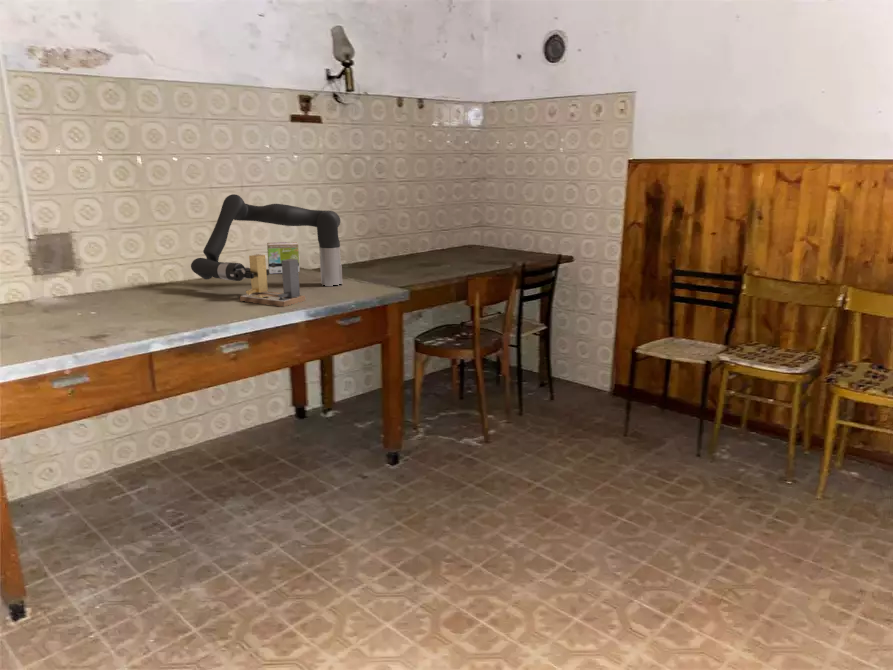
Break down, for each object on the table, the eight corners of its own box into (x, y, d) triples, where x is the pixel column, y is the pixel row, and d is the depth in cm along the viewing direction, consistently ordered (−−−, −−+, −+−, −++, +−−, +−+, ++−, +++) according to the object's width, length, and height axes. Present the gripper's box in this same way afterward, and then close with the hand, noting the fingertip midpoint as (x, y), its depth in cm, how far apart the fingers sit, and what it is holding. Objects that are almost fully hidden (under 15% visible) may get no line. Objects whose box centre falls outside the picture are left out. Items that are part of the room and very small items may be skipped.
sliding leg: (244, 294, 276) (241, 257, 272) (260, 290, 284) (257, 254, 280) (251, 295, 274) (248, 257, 270) (267, 291, 282) (265, 254, 278)
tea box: (269, 274, 336) (267, 244, 332) (268, 271, 345) (266, 242, 342) (300, 272, 340) (298, 243, 336) (298, 269, 349) (296, 241, 346)
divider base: (240, 301, 275) (236, 259, 271) (262, 295, 286) (259, 255, 282) (284, 306, 265) (281, 263, 260) (305, 300, 276) (303, 259, 272)
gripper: (217, 265, 279) (247, 267, 272) (242, 260, 291) (271, 262, 284) (219, 282, 281) (249, 286, 274) (244, 277, 293) (273, 280, 286)
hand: (260, 274), depth 279 cm, fingers open, 8 cm apart
